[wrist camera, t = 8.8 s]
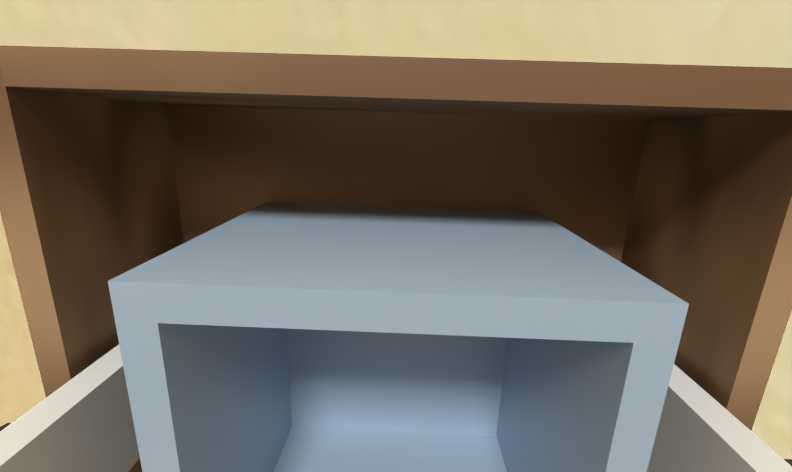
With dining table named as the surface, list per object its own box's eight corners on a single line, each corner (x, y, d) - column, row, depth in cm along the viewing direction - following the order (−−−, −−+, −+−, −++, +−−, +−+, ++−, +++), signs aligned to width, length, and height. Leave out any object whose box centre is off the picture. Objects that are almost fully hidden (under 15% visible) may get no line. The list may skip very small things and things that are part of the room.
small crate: (266, 202, 13) (107, 281, 6) (537, 211, 13) (688, 304, 6) (280, 426, 15) (177, 663, 8) (508, 436, 15) (591, 688, 8)
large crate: (156, 83, 12) (-41, 44, 7) (662, 98, 12) (870, 70, 7) (206, 480, 17) (108, 648, 11) (580, 499, 17) (667, 683, 11)
